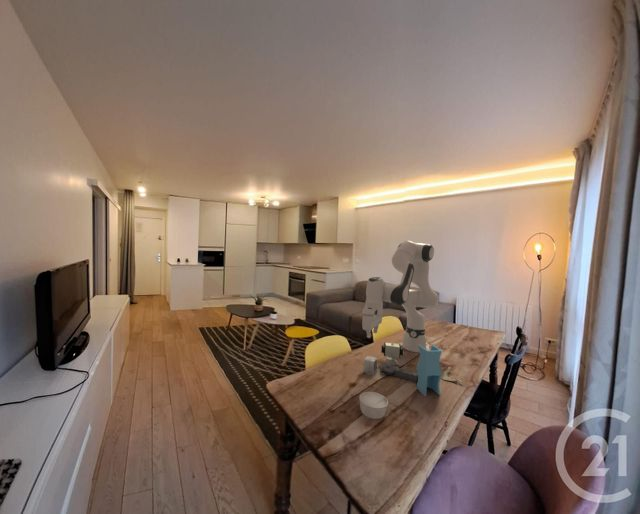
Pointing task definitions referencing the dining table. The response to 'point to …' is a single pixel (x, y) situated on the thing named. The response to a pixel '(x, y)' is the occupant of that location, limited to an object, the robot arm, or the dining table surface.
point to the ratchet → (397, 371)
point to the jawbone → (446, 377)
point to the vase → (429, 369)
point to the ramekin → (373, 404)
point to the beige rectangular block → (370, 365)
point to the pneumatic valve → (392, 351)
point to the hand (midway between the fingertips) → (372, 335)
